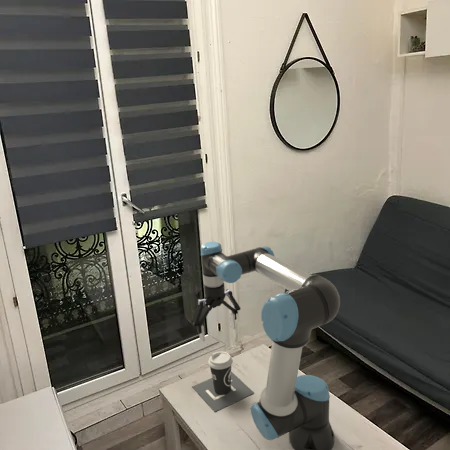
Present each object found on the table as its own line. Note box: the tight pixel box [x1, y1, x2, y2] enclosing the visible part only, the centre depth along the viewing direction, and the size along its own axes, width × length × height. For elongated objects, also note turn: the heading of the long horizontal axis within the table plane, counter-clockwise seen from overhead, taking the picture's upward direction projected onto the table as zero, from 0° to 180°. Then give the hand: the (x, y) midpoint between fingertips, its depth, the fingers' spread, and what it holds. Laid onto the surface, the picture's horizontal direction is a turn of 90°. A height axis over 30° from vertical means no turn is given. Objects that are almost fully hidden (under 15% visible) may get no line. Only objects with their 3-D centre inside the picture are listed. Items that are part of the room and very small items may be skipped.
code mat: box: [192, 371, 255, 413], centre depth 189 cm, size 18×18×1 cm
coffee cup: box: [207, 351, 234, 395], centre depth 186 cm, size 10×10×15 cm
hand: (217, 333), depth 180 cm, fingers open, 13 cm apart
